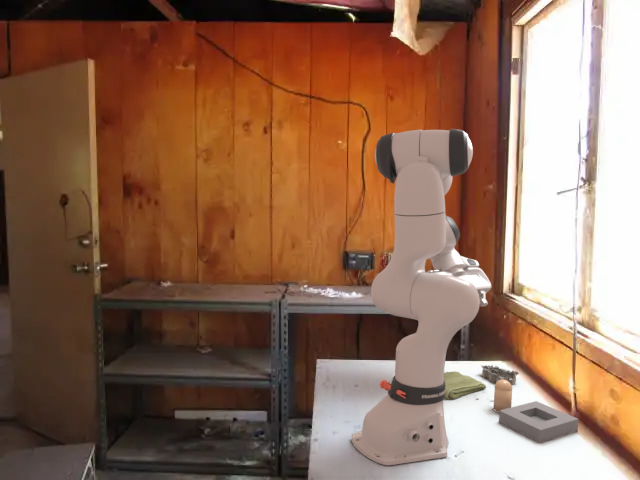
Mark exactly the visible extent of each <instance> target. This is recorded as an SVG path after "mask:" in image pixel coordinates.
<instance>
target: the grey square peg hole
mask: <svg viewBox="0 0 640 480" xmlns="http://www.w3.org/2000/svg"><path fill="white" fill-rule="evenodd" d="M498 423H499V424H502V425H504V426H506V427H508V428H510V429H512V430H514V431H515V432H517V433H520V434H522V435H524V436H526V437H528V438H530V439H532V440H534V441H536V442H538V443H543V442H547V441H549V440H553V439H556V438H559V437H563V436H566V435H570V434H572V433H574V432H578V430H579V418H577V417H575V416H573V415H570V414H568V413H565V412H564V411H560V410H559V409H556V408H553V407H551V406H549V405H546V404H544V403H541V402H539V401H537V400H535V401H532V402H528V403H524V404H520V405H519V404H518V405H516V406H511V408H507V409H503V410H500V411H499V412H498Z"/></svg>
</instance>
